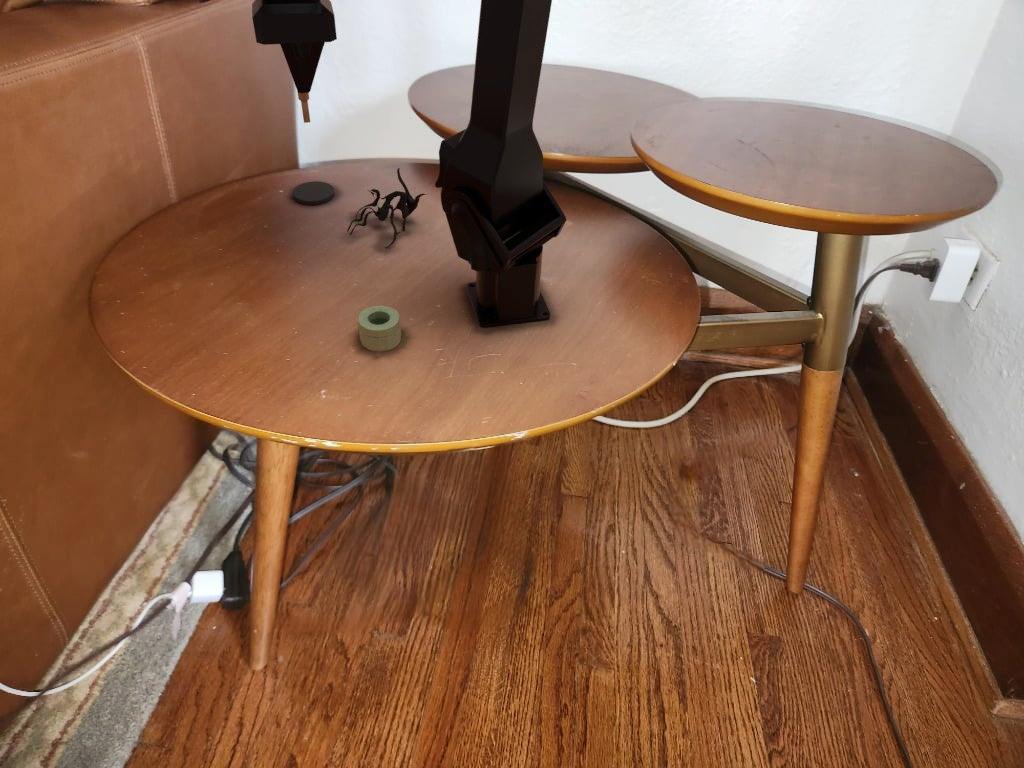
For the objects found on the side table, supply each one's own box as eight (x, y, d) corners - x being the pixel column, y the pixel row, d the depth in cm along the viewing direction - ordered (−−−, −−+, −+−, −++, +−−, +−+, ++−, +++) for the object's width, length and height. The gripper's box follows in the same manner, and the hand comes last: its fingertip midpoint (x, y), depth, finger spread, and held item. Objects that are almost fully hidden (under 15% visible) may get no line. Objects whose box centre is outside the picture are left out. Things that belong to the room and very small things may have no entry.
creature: (369, 266, 77) (439, 231, 79) (352, 221, 73) (426, 186, 75) (339, 228, 82) (406, 197, 84) (322, 185, 78) (393, 153, 80)
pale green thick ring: (404, 350, 66) (402, 327, 64) (362, 356, 65) (359, 332, 63) (398, 326, 68) (396, 303, 67) (358, 331, 68) (355, 307, 66)
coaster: (336, 203, 84) (335, 199, 83) (293, 206, 83) (293, 202, 82) (333, 183, 87) (332, 179, 87) (292, 187, 86) (291, 182, 86)
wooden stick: (312, 122, 74) (299, 23, 68) (301, 123, 74) (287, 23, 68) (311, 116, 75) (298, 17, 69) (301, 116, 75) (287, 18, 69)
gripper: (177, -129, 67) (215, 56, 78) (160, -76, 54) (209, 139, 64) (309, -128, 69) (329, 52, 80) (325, -77, 56) (346, 130, 67)
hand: (303, 89), depth 73 cm, fingers closed on wooden stick, 1 cm apart
